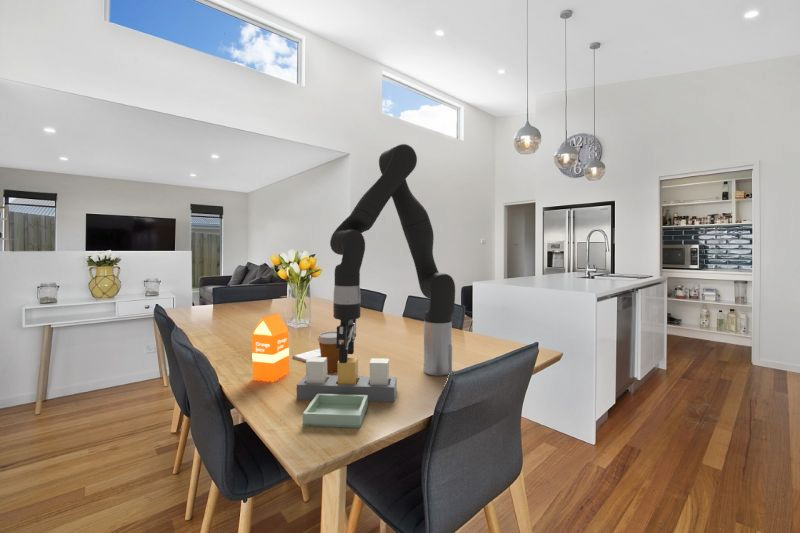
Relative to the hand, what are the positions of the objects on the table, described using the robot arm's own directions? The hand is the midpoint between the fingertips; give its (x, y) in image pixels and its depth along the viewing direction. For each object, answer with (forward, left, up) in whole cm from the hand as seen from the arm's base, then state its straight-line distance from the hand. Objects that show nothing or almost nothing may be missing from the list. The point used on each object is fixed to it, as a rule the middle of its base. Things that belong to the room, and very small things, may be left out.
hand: (346, 358), depth 104 cm
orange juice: (+28, -13, -11) cm, 32 cm away
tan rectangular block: (0, 0, -11) cm, 11 cm away
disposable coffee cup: (+10, -21, -11) cm, 25 cm away
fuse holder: (0, 0, -11) cm, 11 cm away
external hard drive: (+21, -35, -11) cm, 42 cm away
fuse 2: (-9, 0, -11) cm, 14 cm away
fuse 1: (+9, 0, -11) cm, 14 cm away
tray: (0, +13, -11) cm, 17 cm away
